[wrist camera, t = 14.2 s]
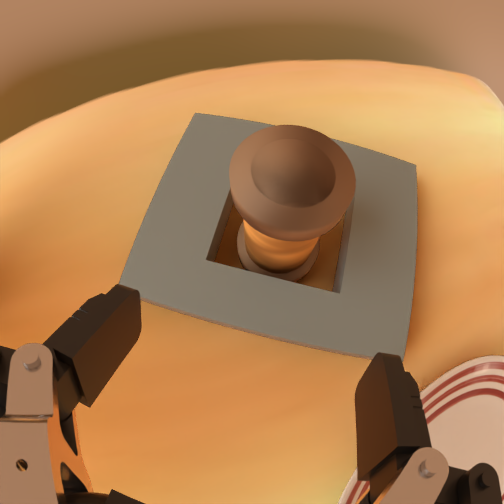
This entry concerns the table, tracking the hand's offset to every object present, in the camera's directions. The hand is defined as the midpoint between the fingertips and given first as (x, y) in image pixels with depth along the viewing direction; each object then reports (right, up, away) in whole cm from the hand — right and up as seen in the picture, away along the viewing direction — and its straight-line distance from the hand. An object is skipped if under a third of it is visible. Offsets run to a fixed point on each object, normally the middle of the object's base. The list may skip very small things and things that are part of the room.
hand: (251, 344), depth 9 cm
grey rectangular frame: (+3, +5, +16) cm, 17 cm away
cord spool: (+2, +3, +16) cm, 16 cm away
